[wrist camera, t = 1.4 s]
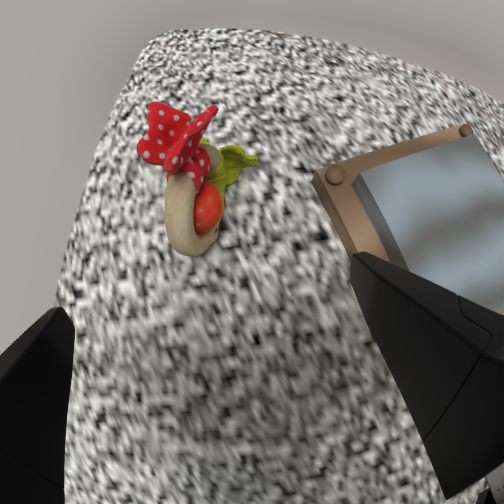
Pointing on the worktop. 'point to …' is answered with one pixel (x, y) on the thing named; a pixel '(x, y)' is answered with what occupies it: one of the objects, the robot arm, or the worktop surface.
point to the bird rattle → (191, 174)
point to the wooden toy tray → (425, 211)
